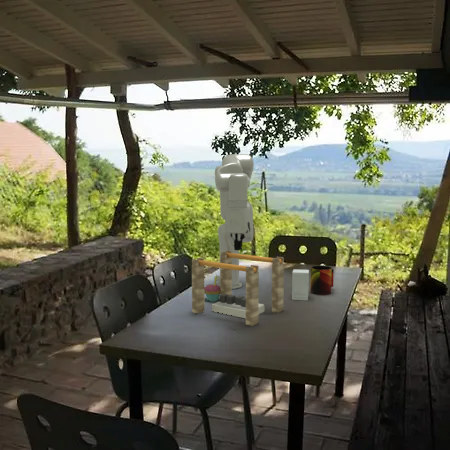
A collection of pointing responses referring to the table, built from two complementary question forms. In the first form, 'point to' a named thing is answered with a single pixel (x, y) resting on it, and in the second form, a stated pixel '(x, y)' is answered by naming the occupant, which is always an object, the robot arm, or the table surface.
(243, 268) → the orange rounded rod
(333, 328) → the table surface
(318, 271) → the mug
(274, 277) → the wooden post rack
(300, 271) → the supplement box
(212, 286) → the cupcake
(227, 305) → the breaker panel
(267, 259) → the orange cylindrical bar
